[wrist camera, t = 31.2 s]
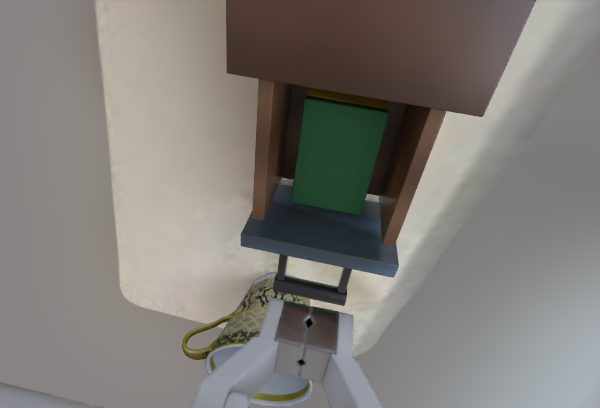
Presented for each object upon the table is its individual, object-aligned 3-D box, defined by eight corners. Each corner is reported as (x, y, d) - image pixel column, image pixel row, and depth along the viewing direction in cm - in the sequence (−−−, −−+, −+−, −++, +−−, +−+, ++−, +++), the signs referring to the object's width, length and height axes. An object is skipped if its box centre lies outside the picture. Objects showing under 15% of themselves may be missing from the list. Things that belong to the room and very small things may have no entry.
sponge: (299, 176, 26) (290, 202, 23) (312, 82, 22) (304, 98, 19) (361, 188, 26) (360, 215, 23) (386, 94, 22) (390, 113, 19)
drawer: (371, 263, 31) (373, 327, 25) (262, 240, 32) (239, 298, 26) (446, 47, 21) (480, 72, 15) (278, 20, 21) (244, 34, 15)
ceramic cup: (330, 270, 34) (320, 360, 26) (318, 327, 40) (306, 416, 32) (212, 247, 35) (166, 327, 27) (216, 306, 41) (179, 386, 33)
